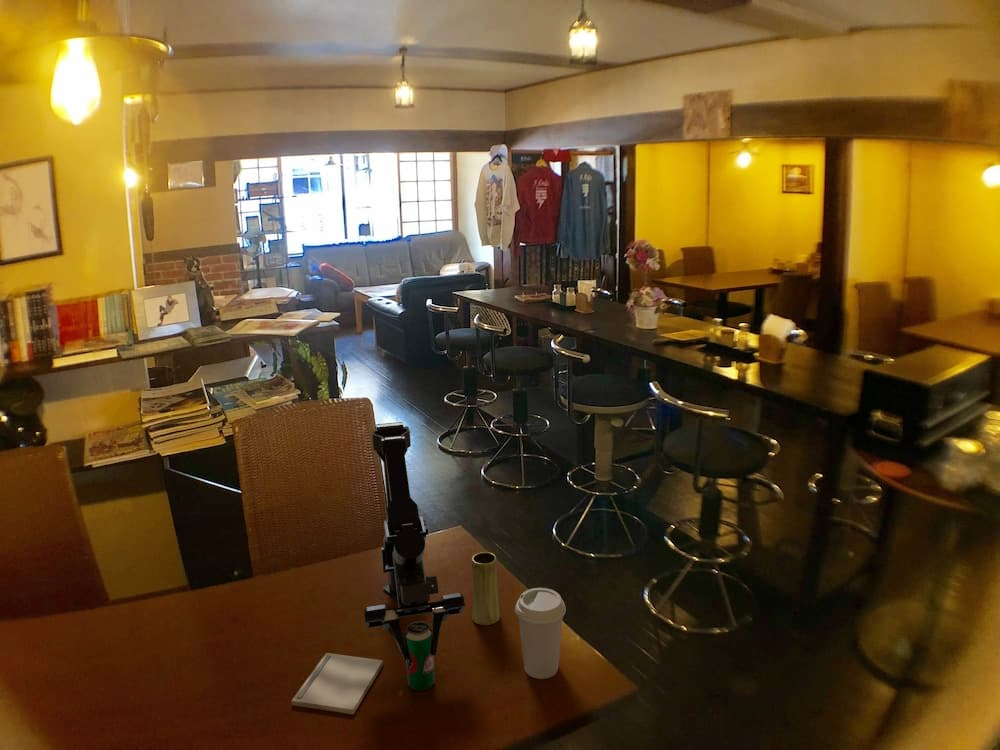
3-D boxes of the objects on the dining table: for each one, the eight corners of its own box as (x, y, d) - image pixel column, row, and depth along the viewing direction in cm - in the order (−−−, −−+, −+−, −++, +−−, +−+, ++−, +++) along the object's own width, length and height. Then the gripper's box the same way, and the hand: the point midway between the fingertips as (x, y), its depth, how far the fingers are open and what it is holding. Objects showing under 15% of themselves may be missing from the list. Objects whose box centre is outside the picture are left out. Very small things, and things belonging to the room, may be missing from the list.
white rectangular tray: (326, 657, 147) (326, 652, 146) (383, 664, 144) (382, 659, 144) (292, 705, 133) (291, 699, 133) (353, 714, 131) (352, 709, 130)
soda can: (430, 694, 135) (427, 637, 132) (404, 691, 136) (400, 634, 133) (438, 676, 140) (435, 621, 137) (412, 673, 141) (409, 618, 138)
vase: (501, 609, 161) (499, 551, 157) (498, 626, 155) (496, 565, 151) (473, 608, 162) (471, 550, 158) (470, 625, 156) (467, 565, 152)
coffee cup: (536, 646, 148) (534, 580, 144) (575, 664, 142) (575, 596, 138) (506, 671, 141) (504, 602, 137) (546, 691, 135) (546, 619, 131)
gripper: (360, 569, 134) (368, 658, 126) (461, 554, 138) (475, 640, 130) (361, 585, 143) (369, 669, 136) (455, 571, 147) (468, 652, 140)
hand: (420, 657), depth 135 cm, fingers closed on soda can, 5 cm apart
